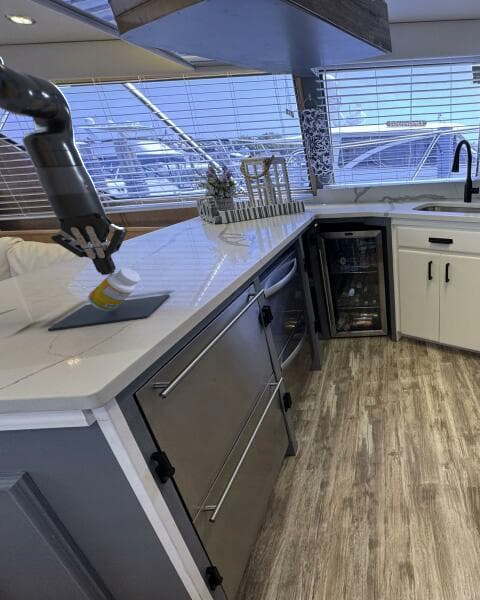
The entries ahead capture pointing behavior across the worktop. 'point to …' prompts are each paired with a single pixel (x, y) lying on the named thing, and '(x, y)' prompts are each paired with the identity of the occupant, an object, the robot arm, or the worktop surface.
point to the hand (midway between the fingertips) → (108, 273)
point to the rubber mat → (111, 313)
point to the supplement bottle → (114, 289)
